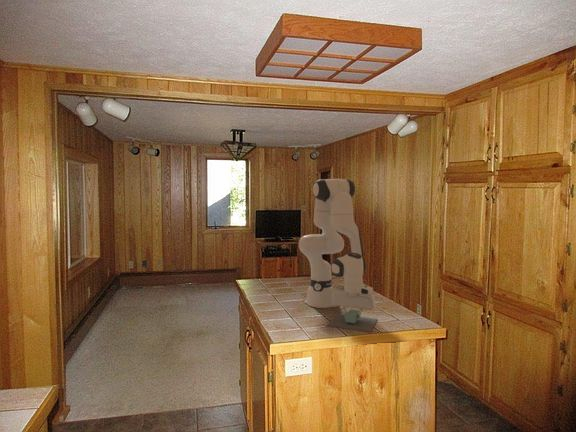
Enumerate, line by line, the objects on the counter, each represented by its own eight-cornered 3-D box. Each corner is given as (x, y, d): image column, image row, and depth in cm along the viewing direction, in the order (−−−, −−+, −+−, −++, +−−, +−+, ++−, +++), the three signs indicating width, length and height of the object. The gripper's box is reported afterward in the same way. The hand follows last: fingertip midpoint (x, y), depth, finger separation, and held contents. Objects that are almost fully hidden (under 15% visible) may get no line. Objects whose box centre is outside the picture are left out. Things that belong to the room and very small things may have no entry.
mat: (336, 314, 193) (336, 313, 193) (377, 320, 186) (377, 319, 186) (326, 325, 177) (326, 324, 177) (370, 332, 169) (370, 331, 169)
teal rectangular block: (345, 321, 178) (345, 314, 178) (350, 316, 186) (350, 309, 186) (354, 323, 176) (355, 315, 176) (359, 317, 184) (359, 310, 184)
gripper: (330, 286, 181) (329, 315, 182) (373, 291, 174) (373, 321, 175) (333, 283, 187) (333, 311, 188) (376, 288, 180) (375, 317, 180)
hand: (352, 316), depth 181 cm, fingers closed on teal rectangular block, 4 cm apart
